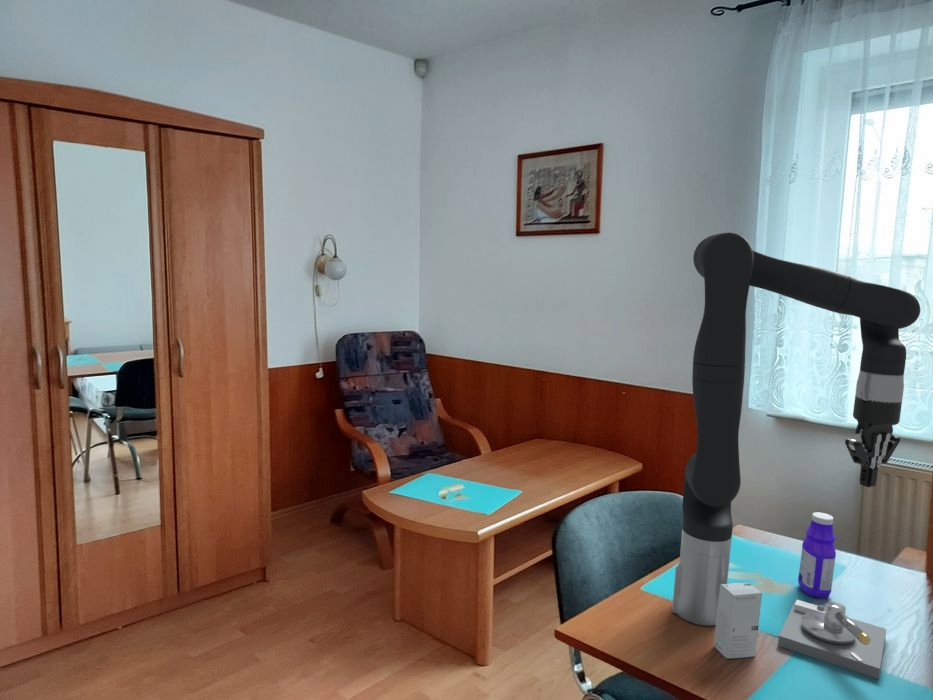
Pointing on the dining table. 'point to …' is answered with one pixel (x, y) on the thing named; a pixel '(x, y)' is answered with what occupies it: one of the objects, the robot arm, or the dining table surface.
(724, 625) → the skincare box
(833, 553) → the bottle
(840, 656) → the switch base
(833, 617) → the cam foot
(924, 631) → the dining table surface
